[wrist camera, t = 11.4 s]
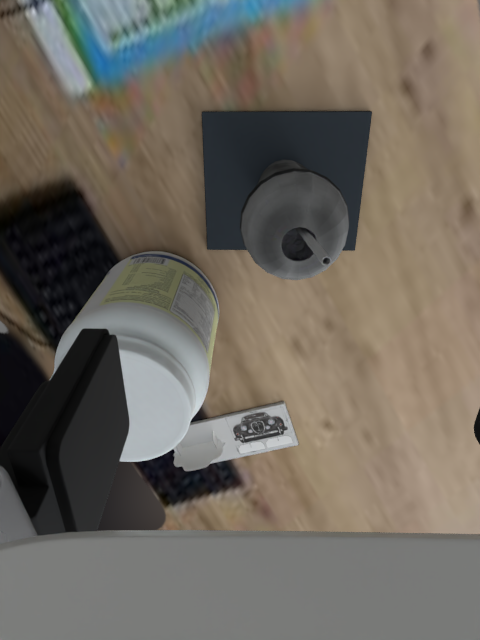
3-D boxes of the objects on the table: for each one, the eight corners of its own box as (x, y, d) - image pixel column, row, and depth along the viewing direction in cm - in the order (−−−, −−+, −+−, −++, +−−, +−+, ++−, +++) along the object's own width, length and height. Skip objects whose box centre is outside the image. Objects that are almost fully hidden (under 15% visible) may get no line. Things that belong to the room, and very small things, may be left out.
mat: (207, 247, 44) (207, 249, 44) (202, 111, 38) (201, 112, 38) (353, 248, 44) (354, 250, 43) (370, 111, 38) (372, 111, 37)
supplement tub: (155, 370, 51) (115, 493, 36) (77, 289, 47) (-6, 392, 32) (244, 315, 47) (239, 427, 33) (168, 222, 43) (122, 303, 28)
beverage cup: (226, 180, 40) (204, 266, 23) (292, 123, 38) (324, 170, 20) (277, 241, 43) (292, 360, 25) (342, 191, 40) (408, 284, 23)
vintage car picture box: (184, 466, 58) (179, 495, 54) (164, 428, 55) (157, 456, 51) (298, 442, 56) (301, 470, 52) (284, 401, 53) (286, 427, 49)
